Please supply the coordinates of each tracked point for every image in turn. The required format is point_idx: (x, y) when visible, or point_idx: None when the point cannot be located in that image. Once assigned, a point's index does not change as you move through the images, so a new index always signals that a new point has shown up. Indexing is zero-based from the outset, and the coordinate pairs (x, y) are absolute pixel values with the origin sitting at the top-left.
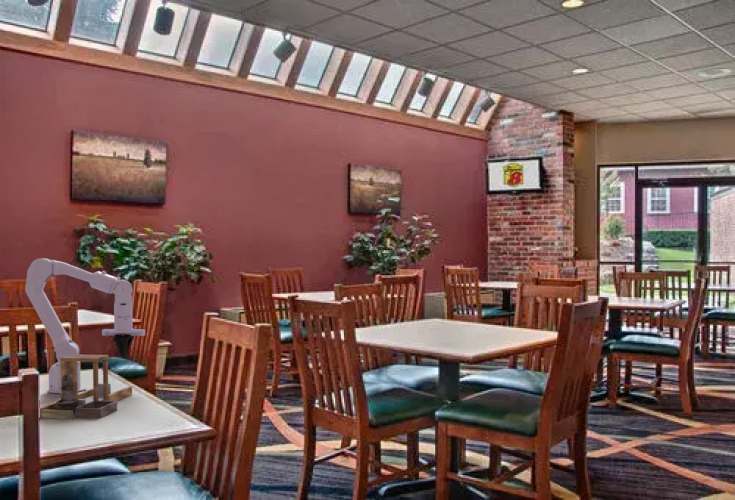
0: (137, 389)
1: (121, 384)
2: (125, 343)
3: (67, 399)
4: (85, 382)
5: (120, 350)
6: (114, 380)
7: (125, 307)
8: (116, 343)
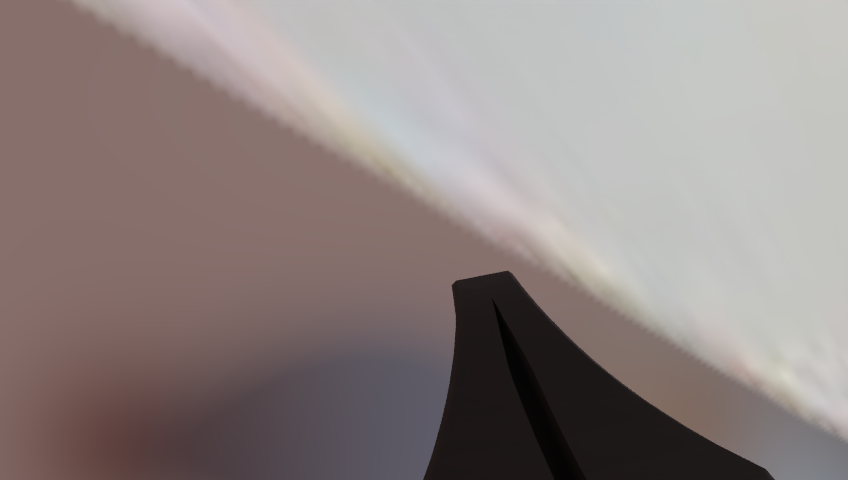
0: (228, 79)
1: (516, 195)
2: (430, 463)
3: None
4: (839, 168)
5: (527, 339)
6: (647, 277)
7: None
8: (644, 418)
